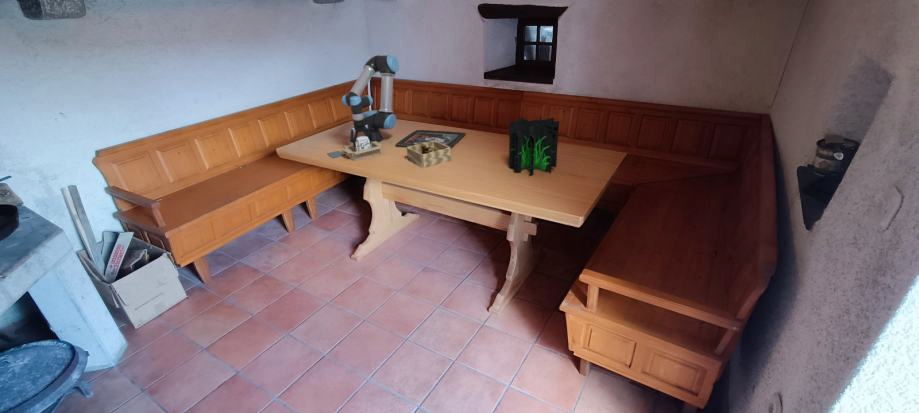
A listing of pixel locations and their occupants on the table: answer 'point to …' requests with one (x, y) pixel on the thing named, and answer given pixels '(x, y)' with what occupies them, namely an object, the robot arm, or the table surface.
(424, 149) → the bear figurine
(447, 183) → the table surface
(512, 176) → the table surface
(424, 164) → the box
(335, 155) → the mat
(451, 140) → the religious icon
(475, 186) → the table surface
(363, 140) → the ink box
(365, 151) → the carton
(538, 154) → the decorative plant
